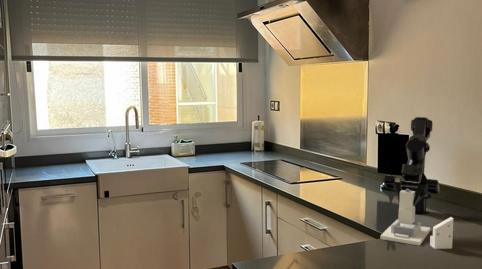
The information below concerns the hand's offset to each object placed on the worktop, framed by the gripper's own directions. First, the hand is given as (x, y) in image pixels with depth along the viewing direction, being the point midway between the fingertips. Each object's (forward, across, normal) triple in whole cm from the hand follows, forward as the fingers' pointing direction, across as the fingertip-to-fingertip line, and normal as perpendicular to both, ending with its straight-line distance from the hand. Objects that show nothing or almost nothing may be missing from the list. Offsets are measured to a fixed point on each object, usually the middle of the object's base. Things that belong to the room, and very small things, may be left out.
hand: (406, 204), depth 169 cm
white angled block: (+12, +13, +4) cm, 18 cm away
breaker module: (+4, 0, +5) cm, 7 cm away
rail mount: (+8, 0, +8) cm, 11 cm away
